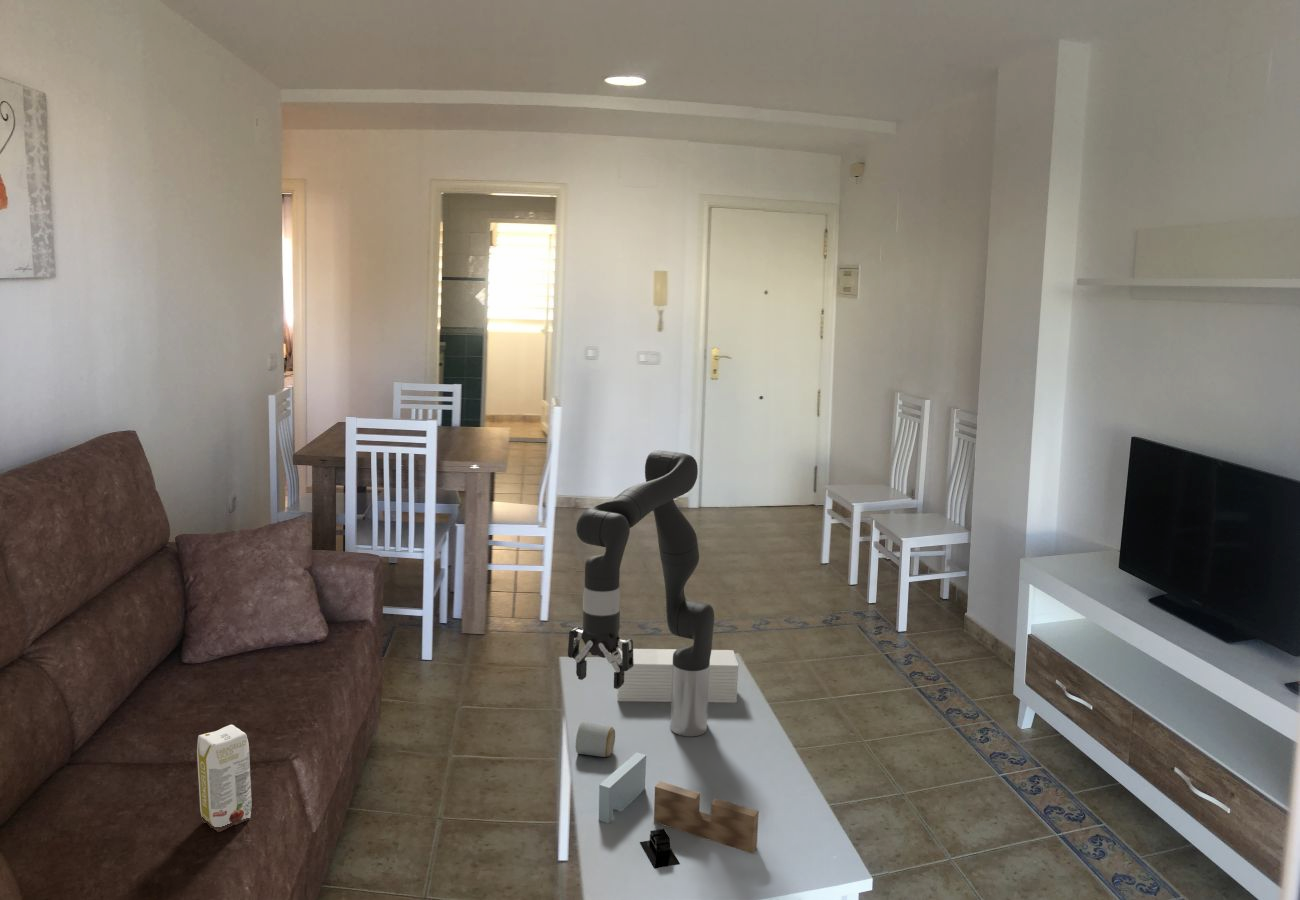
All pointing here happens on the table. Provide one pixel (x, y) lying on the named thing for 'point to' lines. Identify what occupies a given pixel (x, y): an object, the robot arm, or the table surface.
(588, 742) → the ceramic mug
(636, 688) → the stack of papers
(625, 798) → the blue grey block
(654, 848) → the black plastic bracket
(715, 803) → the brown wooden board
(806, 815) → the table surface
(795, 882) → the table surface
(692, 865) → the table surface
